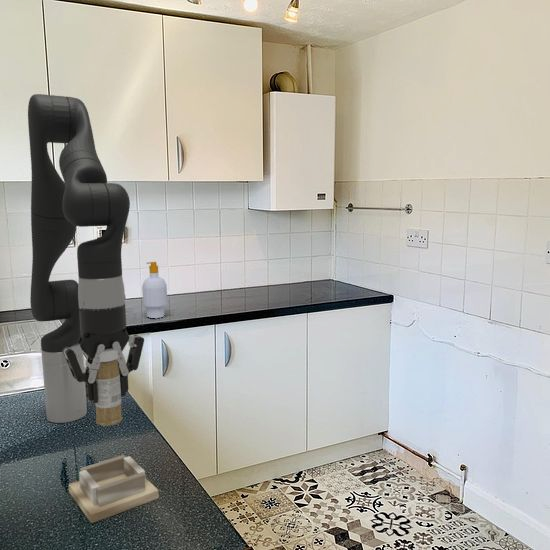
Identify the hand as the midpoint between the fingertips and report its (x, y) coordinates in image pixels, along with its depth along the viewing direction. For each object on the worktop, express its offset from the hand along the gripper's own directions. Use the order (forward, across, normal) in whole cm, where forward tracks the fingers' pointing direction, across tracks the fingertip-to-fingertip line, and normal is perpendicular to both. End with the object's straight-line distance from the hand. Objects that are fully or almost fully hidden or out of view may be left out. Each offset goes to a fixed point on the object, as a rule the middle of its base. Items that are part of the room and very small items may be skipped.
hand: (107, 398), depth 94 cm
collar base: (+18, 0, 0) cm, 18 cm away
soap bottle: (+18, -66, -124) cm, 142 cm away
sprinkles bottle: (+4, 0, 0) cm, 4 cm away
